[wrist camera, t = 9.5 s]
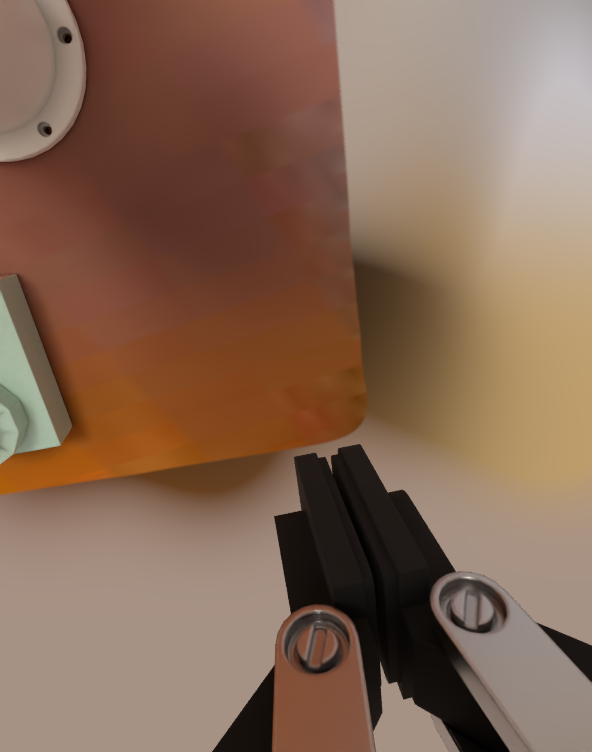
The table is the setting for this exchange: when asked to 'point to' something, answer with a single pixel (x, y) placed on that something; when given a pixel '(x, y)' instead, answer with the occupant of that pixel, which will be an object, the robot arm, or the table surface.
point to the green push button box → (26, 380)
